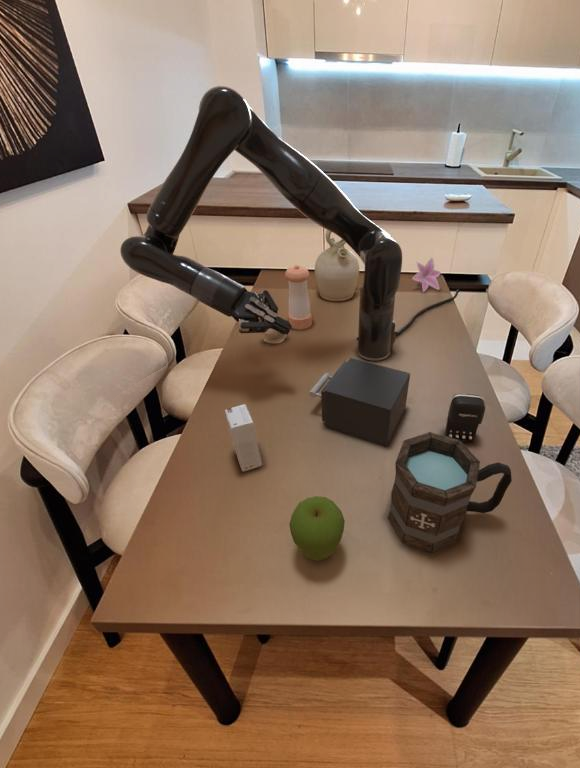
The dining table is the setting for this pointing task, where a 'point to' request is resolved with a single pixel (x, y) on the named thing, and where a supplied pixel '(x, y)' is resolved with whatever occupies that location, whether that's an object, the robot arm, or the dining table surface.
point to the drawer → (320, 384)
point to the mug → (438, 490)
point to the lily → (427, 275)
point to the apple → (317, 527)
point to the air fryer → (366, 401)
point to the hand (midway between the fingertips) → (289, 330)
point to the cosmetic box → (243, 437)
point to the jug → (336, 271)
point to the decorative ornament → (273, 336)
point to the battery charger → (464, 417)
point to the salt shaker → (298, 298)
